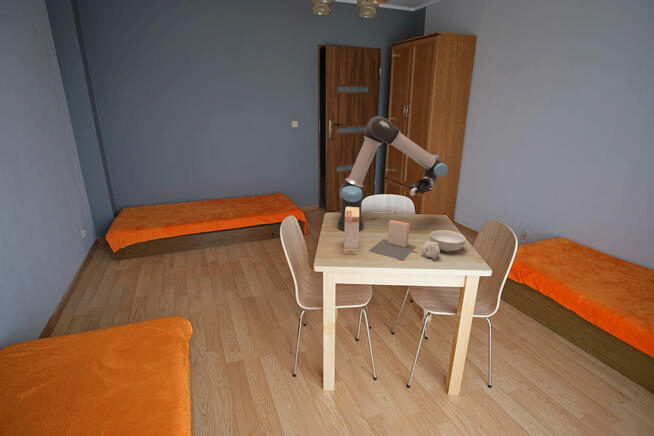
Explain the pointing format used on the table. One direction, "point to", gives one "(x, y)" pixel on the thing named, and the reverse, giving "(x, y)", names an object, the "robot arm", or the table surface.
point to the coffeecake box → (351, 230)
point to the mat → (392, 250)
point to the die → (431, 249)
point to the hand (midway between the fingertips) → (411, 192)
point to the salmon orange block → (398, 233)
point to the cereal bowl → (448, 240)
